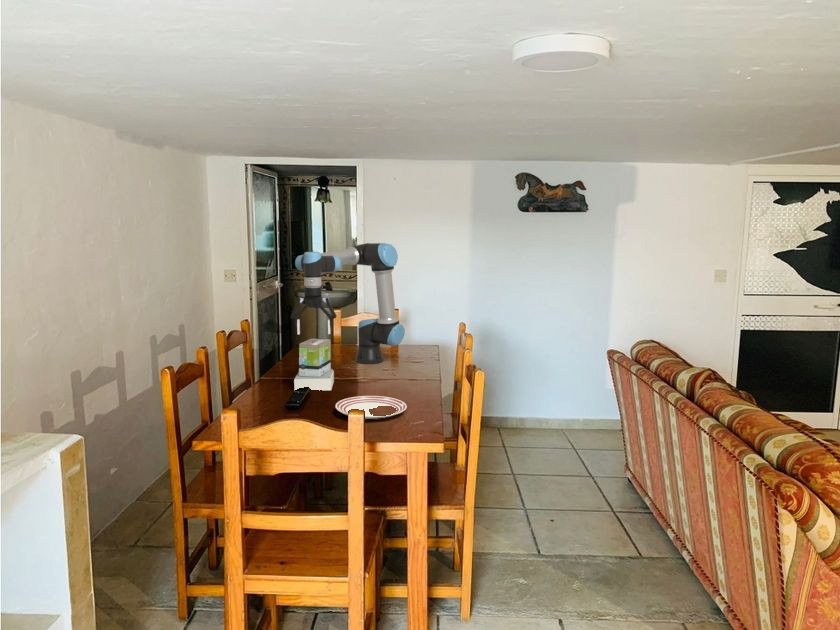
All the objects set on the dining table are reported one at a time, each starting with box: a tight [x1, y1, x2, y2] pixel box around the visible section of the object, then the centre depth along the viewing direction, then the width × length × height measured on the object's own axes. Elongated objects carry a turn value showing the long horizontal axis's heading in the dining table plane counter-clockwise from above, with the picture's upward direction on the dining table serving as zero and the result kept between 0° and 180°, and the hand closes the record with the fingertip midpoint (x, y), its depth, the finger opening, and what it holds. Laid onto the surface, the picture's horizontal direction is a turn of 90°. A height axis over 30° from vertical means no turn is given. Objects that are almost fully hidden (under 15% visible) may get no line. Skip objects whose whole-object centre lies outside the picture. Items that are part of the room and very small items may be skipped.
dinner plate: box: [334, 395, 408, 420], centre depth 221 cm, size 28×27×3 cm
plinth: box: [293, 368, 335, 392], centre depth 260 cm, size 16×16×6 cm
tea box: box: [298, 338, 332, 377], centre depth 258 cm, size 15×10×15 cm, turn 170°
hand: (314, 333), depth 257 cm, fingers open, 13 cm apart
